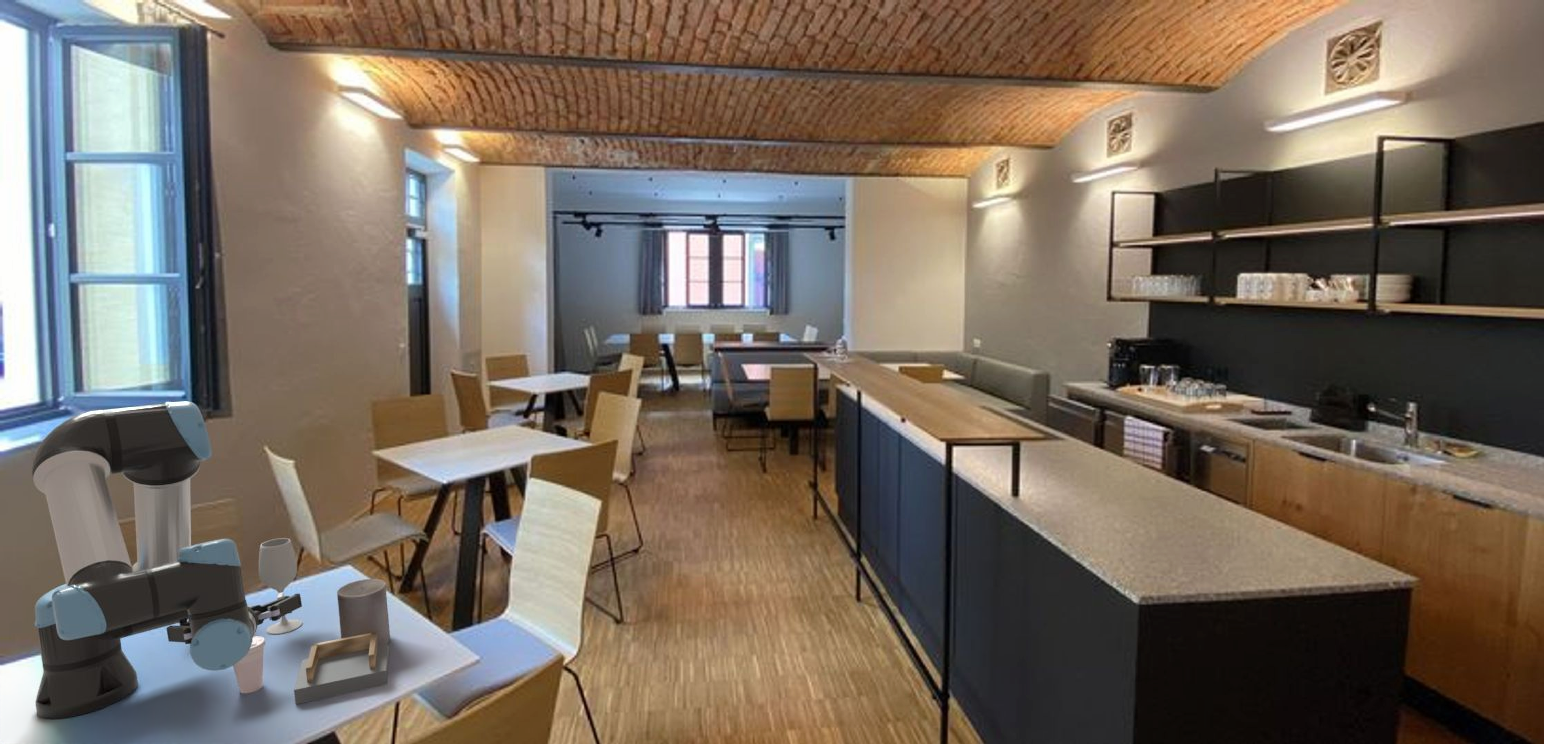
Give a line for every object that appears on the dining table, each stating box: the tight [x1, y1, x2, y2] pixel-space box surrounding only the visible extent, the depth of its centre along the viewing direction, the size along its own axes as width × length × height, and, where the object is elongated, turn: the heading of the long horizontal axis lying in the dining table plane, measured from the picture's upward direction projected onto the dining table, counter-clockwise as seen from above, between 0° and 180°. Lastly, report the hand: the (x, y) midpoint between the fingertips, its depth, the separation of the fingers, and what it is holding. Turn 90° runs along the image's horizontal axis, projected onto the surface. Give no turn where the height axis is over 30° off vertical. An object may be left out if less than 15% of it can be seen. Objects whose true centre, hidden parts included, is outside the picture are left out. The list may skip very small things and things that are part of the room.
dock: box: [293, 643, 390, 705], centre depth 157 cm, size 16×13×3 cm
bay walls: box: [306, 632, 378, 682], centre depth 158 cm, size 12×11×3 cm
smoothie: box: [232, 635, 266, 694], centre depth 153 cm, size 6×6×14 cm
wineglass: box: [258, 537, 303, 635], centre depth 180 cm, size 8×8×21 cm
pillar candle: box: [336, 578, 391, 645], centre depth 171 cm, size 10×10×15 cm
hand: (240, 609), depth 146 cm, fingers open, 13 cm apart
